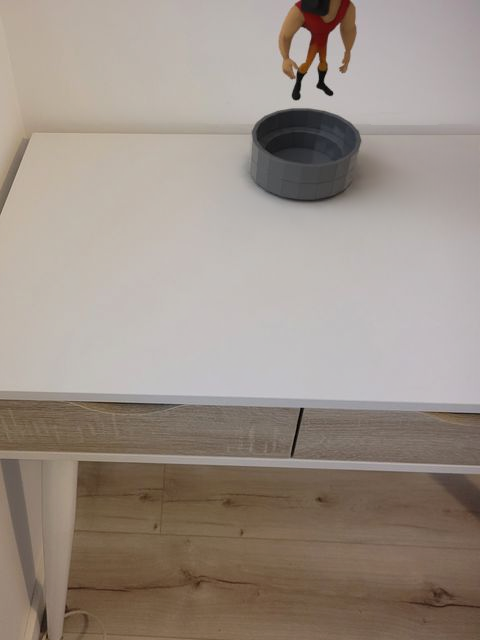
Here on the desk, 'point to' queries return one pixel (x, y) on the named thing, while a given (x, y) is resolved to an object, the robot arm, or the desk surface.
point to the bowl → (303, 153)
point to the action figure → (317, 40)
